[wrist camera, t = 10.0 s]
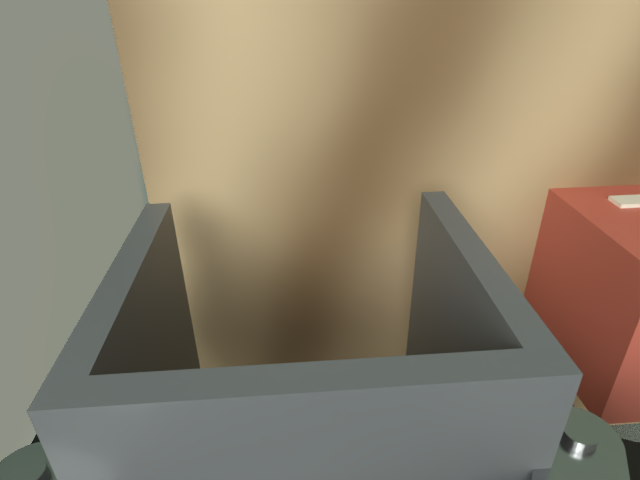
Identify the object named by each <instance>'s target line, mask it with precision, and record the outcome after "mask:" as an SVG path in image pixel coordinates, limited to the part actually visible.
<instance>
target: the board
mask: <svg viewBox="0 0 640 480" xmlns="http://www.w3.org/2000/svg"><path fill="white" fill-rule="evenodd" d="M108 5H109V10H110V15H111V20H112V25H113V30H114V35H115V39H116V44H117V49H118V54H119V59H120V64H121V69H122V74H123V78H124V83H125V88H126V93H127V98H128V103H129V108H130V113H131V117H132V122H133V127H134V132H135V137H136V142H137V147H138V152H139V157H140V161H141V166H142V171H143V176H144V181H145V186H146V191H147V196H148V200H149V204H157V203H170V204H171V209H172V215H173V220H174V226H175V231H176V237H177V242H178V248H179V253H180V259H181V264H182V270H183V275H184V281H185V286H186V292H187V297H188V303H189V308H190V314H191V319H192V325H193V330H194V336H195V341H196V347H197V352H198V358H199V363H200V369H201V368H217V367H233V366H248V365H264V364H280V363H296V362H312V361H328V360H344V359H360V358H376V357H392V356H406V349H407V339H408V329H409V319H410V308H411V298H412V288H413V277H414V267H415V257H416V246H417V236H418V226H419V215H420V205H421V195H422V192H437V191H445V193H446V194H447V195H448V197H449V198H450V199H451V201H452V202H453V203H454V205H455V206H456V207H457V209H458V210H459V211H460V213H461V214H462V215H463V217H464V218H465V219H466V220H467V222H468V223H469V224H470V226H471V227H472V228H473V230H474V231H475V232H476V234H477V235H478V236H479V238H480V239H481V240H482V242H483V243H484V244H485V246H486V247H487V248H488V249H489V251H490V252H491V253H492V255H493V256H494V257H495V259H496V260H497V261H498V263H499V264H500V265H501V267H502V268H503V269H504V271H505V272H506V273H507V274H508V276H509V277H510V278H511V280H512V281H513V282H514V284H515V285H516V286H517V288H518V289H519V290H520V292H521V293H522V294H523V296H524V293H525V288H526V284H527V280H528V276H529V271H530V267H531V263H532V259H533V255H534V250H535V246H536V242H537V238H538V233H539V229H540V225H541V221H542V216H543V212H544V208H545V204H546V200H547V195H548V191H549V188H572V187H595V186H618V185H640V0H108ZM573 405H574V406H575V407H578V408H581V409H584V410H587V409H586V407H585V406H584V404H583V403H582V401H581V400H580V399H579V397H578V396H577V394H576V397H575V400H574V403H573ZM587 411H588V410H587ZM634 423H640V422H631V423H617V424H609V425H620V424H634Z"/></svg>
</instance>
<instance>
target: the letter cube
mask: <svg viewBox="0 0 640 480" xmlns="http://www.w3.org/2000/svg"><path fill="white" fill-rule="evenodd" d="M524 297H525V298H526V300H527V301H528V302H529V303H530V305H531V306H532V307H533V309H534V310H535V311H536V313H537V314H538V315H539V317H540V318H541V319H542V321H543V322H544V323H545V325H546V326H547V327H548V329H549V330H550V331H551V332H552V334H553V335H554V336H555V338H556V339H557V340H558V342H559V343H560V344H561V346H562V347H563V348H564V350H565V351H566V352H567V354H568V355H569V356H570V358H571V359H572V360H573V361H574V363H575V364H576V365H577V367H578V368H579V369H580V371H581V372H582V373H583V376H582V379H581V382H580V385H579V388H578V391H577V396H578V397H579V399H580V400H581V401H582V403H583V404H584V406H585V407H586V409H587V410H588V411H589V412H591V413H593V414H595V415H597V416H598V417H600V418H601V419H603V420H604V421H606V422H607V423H608V424H617V423H631V422H640V185H618V186H595V187H572V188H549V191H548V195H547V200H546V204H545V208H544V212H543V216H542V221H541V225H540V229H539V233H538V238H537V242H536V246H535V250H534V255H533V259H532V263H531V267H530V271H529V276H528V280H527V284H526V288H525V293H524Z"/></svg>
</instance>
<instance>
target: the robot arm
mask: <svg viewBox="0 0 640 480" xmlns="http://www.w3.org/2000/svg"><path fill="white" fill-rule="evenodd" d="M0 480H57V478H56V476H55V474H54V472H53V469H52V467H51V465H50V463H49V460H48V458H47V456H46V454H45V451H44V449H43V447H42V445H41V442H40V440H39V438H38V436H37V434H36V436H35V438H34V440H33V441H32V443H31V444H30V445H27V446H25V447H23V448H21V449H19V450H17V451H15V452H13V453H12V454H10V455H9V456H7V457H6V458H4V459H3V460H2V461H1V462H0ZM529 480H640V443H638V442H633V441H629V440H625V439H622V438H620V436H619V435H618V434H617V432H616V431H615V430H614V429H613V428H612V427H611V426H610V425H609V424H608V423H607V422H606V421H604V420H603V419H601V418H600V417H598V416H597V415H595V414H593V413H591V412H589V411H587V410H584V409H581V408H578V407H575V406H574V405H573V406H572V408H571V411H570V414H569V417H568V420H567V423H566V426H565V429H564V432H563V435H562V438H561V440H560V443H559V446H558V449H557V452H556V455H555V458H554V461H553V464H552V467H551V468H544V469H532V472H531V475H530V478H529Z"/></svg>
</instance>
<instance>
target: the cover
mask: <svg viewBox="0 0 640 480" xmlns="http://www.w3.org/2000/svg"><path fill="white" fill-rule="evenodd" d="M582 376H583V373H582V372H581V371H580V369H579V368H578V367H577V365H576V364H575V363H574V361H573V360H572V359H571V358H570V356H569V355H568V354H567V352H566V351H565V350H564V348H563V347H562V346H561V344H560V343H559V342H558V340H557V339H556V338H555V336H554V335H553V334H552V332H551V331H550V330H549V329H548V327H547V326H546V325H545V323H544V322H543V321H542V319H541V318H540V317H539V315H538V314H537V313H536V311H535V310H534V309H533V307H532V306H531V305H530V303H529V302H528V301H527V300H526V298H525V297H524V296H523V294H522V293H521V292H520V290H519V289H518V288H517V286H516V285H515V284H514V282H513V281H512V280H511V278H510V277H509V276H508V274H507V273H506V272H505V271H504V269H503V268H502V267H501V265H500V264H499V263H498V261H497V260H496V259H495V257H494V256H493V255H492V253H491V252H490V251H489V249H488V248H487V247H486V246H485V244H484V243H483V242H482V240H481V239H480V238H479V236H478V235H477V234H476V232H475V231H474V230H473V228H472V227H471V226H470V224H469V223H468V222H467V220H466V219H465V218H464V217H463V215H462V214H461V213H460V211H459V210H458V209H457V207H456V206H455V205H454V203H453V202H452V201H451V199H450V198H449V197H448V195H447V194H446V193H445V191H437V192H422V195H421V205H420V215H419V226H418V236H417V246H416V257H415V267H414V277H413V288H412V298H411V308H410V319H409V329H408V339H407V349H406V356H392V357H376V358H360V359H344V360H328V361H312V362H296V363H280V364H264V365H248V366H233V367H217V368H201V369H200V363H199V358H198V352H197V347H196V341H195V336H194V330H193V325H192V319H191V314H190V308H189V303H188V297H187V292H186V286H185V281H184V275H183V270H182V264H181V259H180V253H179V248H178V242H177V237H176V231H175V226H174V220H173V215H172V209H171V204H170V203H157V204H146V205H145V207H144V209H143V211H142V212H141V214H140V216H139V218H138V219H137V221H136V223H135V225H134V226H133V228H132V230H131V232H130V233H129V235H128V237H127V238H126V240H125V242H124V244H123V245H122V247H121V249H120V251H119V252H118V254H117V256H116V257H115V259H114V261H113V263H112V264H111V266H110V268H109V270H108V271H107V273H106V275H105V276H104V278H103V280H102V282H101V284H100V285H99V287H98V289H97V290H96V292H95V294H94V296H93V297H92V299H91V301H90V302H89V304H88V306H87V308H86V310H85V311H84V313H83V315H82V316H81V318H80V320H79V322H78V323H77V325H76V327H75V329H74V330H73V332H72V334H71V335H70V337H69V339H68V341H67V342H66V344H65V346H64V348H63V349H62V351H61V353H60V355H59V356H58V358H57V360H56V361H55V363H54V365H53V367H52V368H51V370H50V372H49V374H48V375H47V377H46V379H45V381H44V382H43V384H42V386H41V388H40V389H39V391H38V393H37V394H36V396H35V398H34V400H33V401H32V403H31V405H30V407H29V408H28V410H27V413H28V415H29V417H30V420H31V422H32V424H33V426H34V429H35V431H36V433H37V436H38V438H39V440H40V442H41V445H42V447H43V449H44V451H45V454H46V456H47V458H48V460H49V463H50V465H51V467H52V469H53V472H54V474H55V476H56V478H57V480H529V478H530V475H531V472H532V469H544V468H551V467H552V464H553V461H554V458H555V455H556V452H557V449H558V446H559V443H560V440H561V438H562V435H563V432H564V429H565V426H566V423H567V420H568V417H569V414H570V411H571V408H572V406H573V403H574V400H575V397H576V394H577V391H578V388H579V385H580V382H581V379H582Z"/></svg>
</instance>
